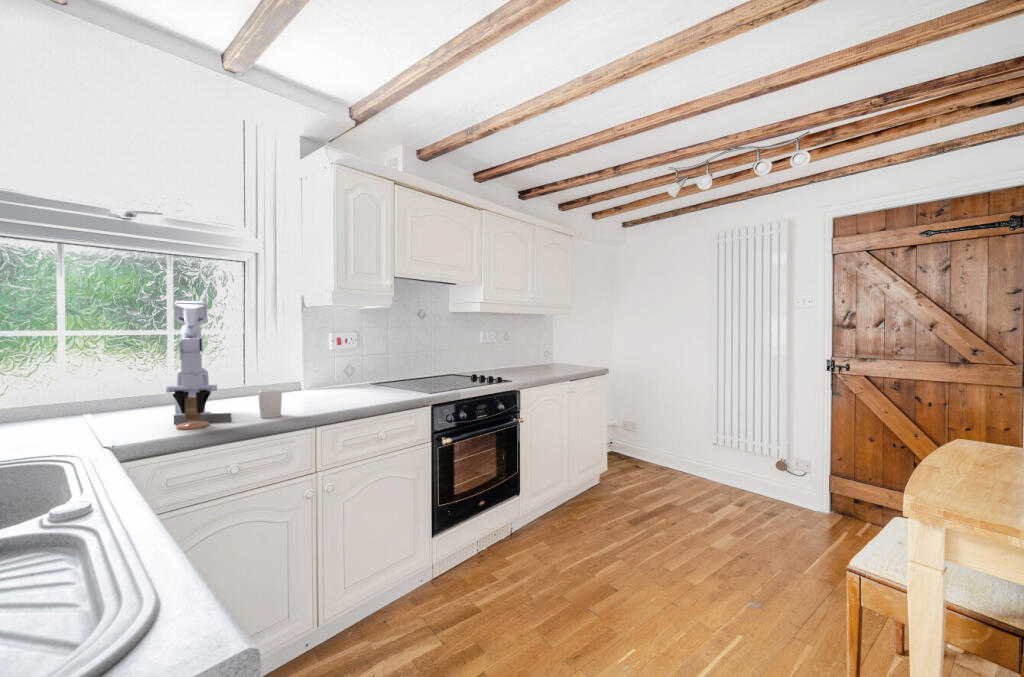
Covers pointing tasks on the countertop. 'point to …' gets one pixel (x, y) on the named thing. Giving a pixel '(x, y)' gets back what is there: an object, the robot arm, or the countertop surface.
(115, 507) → the countertop surface
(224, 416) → the smoky grey fence
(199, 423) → the terracotta coaster
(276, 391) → the white cup
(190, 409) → the walnut peg
